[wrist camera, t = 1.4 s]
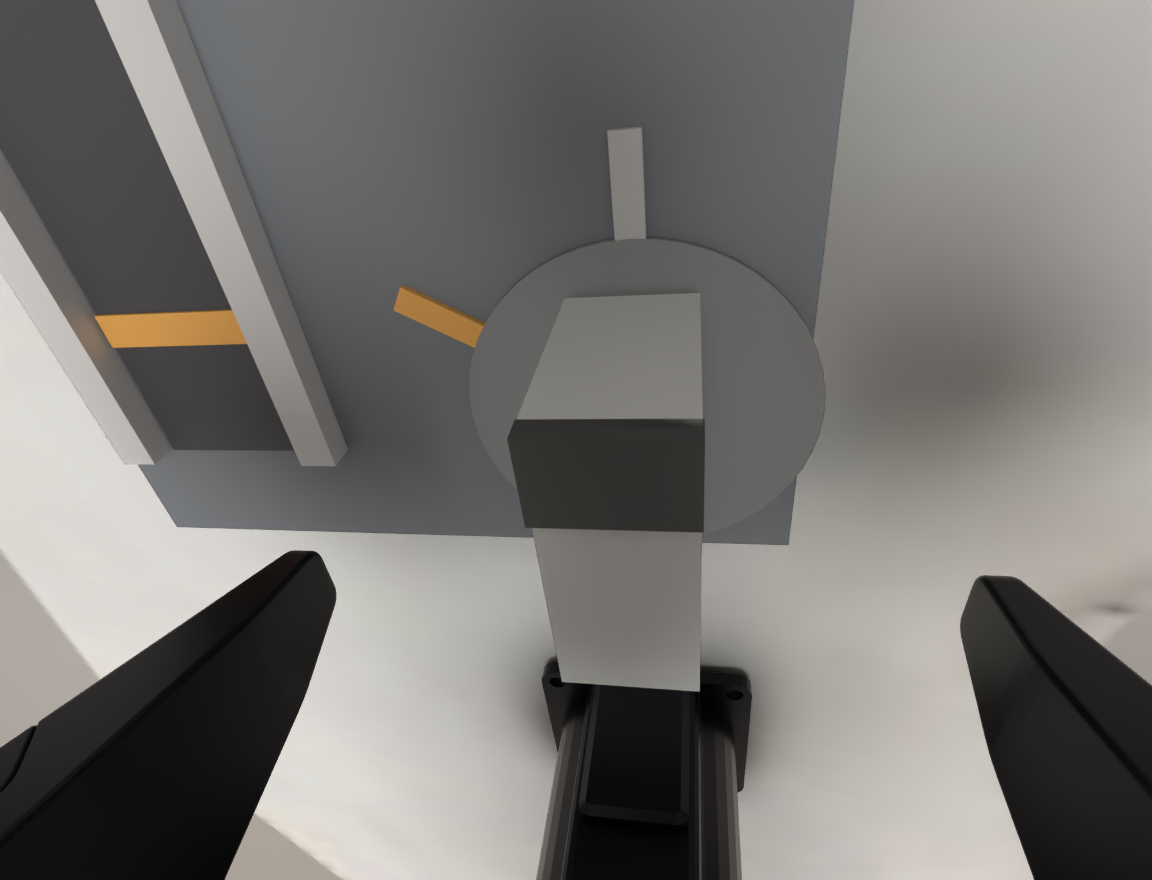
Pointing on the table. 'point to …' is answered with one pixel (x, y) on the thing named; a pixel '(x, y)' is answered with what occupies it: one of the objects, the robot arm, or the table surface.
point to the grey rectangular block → (618, 487)
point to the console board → (413, 235)
